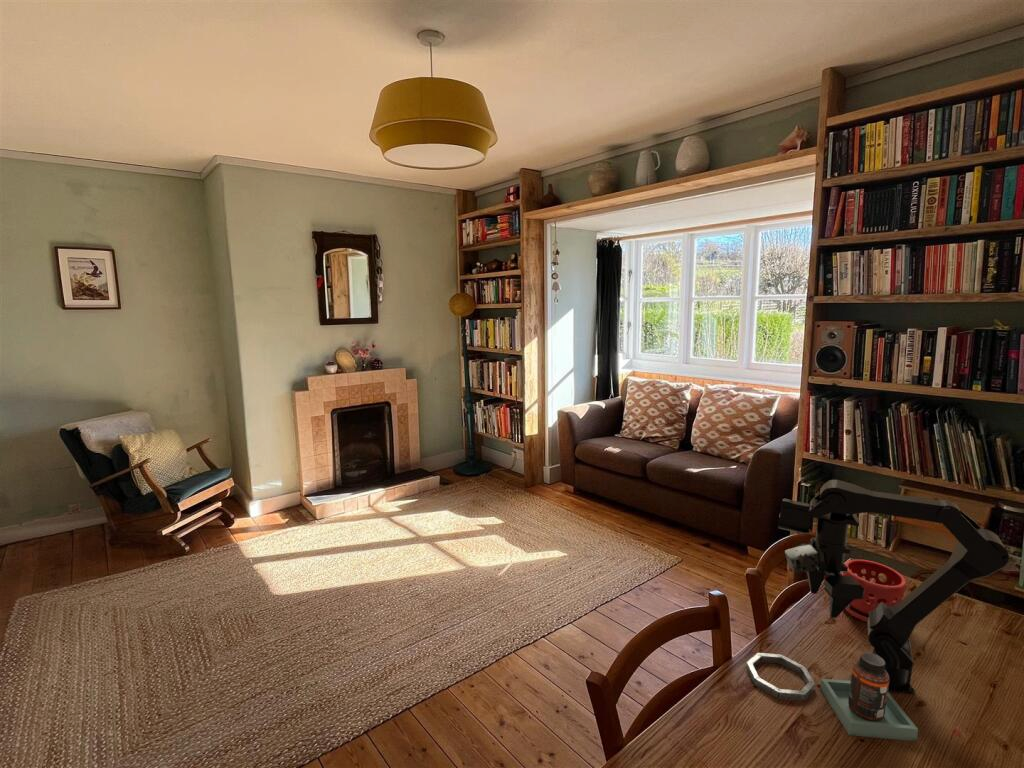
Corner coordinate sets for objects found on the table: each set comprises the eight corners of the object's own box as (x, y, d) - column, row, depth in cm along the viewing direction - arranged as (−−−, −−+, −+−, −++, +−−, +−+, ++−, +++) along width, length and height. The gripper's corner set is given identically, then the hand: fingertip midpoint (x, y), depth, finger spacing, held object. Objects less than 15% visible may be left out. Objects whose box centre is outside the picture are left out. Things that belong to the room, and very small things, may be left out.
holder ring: (797, 661, 117) (797, 655, 117) (822, 702, 106) (823, 696, 105) (741, 657, 119) (741, 651, 118) (760, 697, 107) (760, 690, 106)
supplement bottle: (890, 725, 99) (898, 671, 97) (855, 720, 100) (862, 667, 99) (875, 702, 105) (882, 650, 103) (842, 697, 106) (849, 646, 104)
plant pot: (837, 618, 134) (842, 574, 132) (840, 594, 144) (845, 553, 142) (900, 637, 126) (907, 591, 124) (899, 611, 137) (905, 568, 135)
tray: (879, 694, 108) (881, 683, 108) (916, 741, 97) (918, 729, 96) (820, 689, 109) (821, 678, 109) (849, 735, 98) (850, 723, 97)
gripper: (775, 518, 124) (769, 580, 127) (811, 557, 106) (803, 628, 108) (825, 521, 123) (818, 583, 125) (870, 561, 104) (860, 632, 107)
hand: (823, 604), depth 117 cm, fingers open, 9 cm apart
